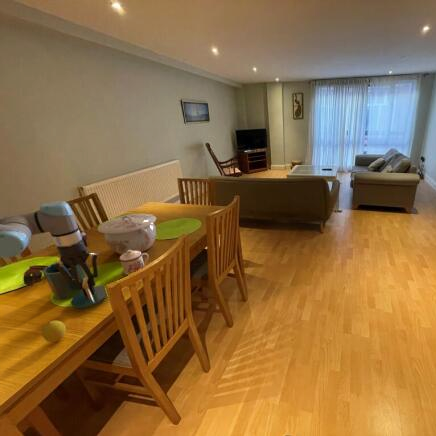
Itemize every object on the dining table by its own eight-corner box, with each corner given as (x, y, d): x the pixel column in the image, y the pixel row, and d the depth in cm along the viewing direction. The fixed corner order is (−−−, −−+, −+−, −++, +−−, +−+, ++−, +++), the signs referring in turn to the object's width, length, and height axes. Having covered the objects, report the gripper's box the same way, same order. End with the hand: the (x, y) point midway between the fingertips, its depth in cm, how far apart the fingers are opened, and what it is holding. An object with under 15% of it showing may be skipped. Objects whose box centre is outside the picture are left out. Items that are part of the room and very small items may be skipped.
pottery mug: (21, 282, 111) (26, 264, 112) (49, 282, 118) (54, 265, 119) (21, 287, 103) (26, 268, 104) (51, 286, 110) (56, 268, 111)
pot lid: (69, 313, 90) (60, 296, 87) (74, 294, 100) (66, 278, 97) (110, 300, 97) (104, 283, 94) (111, 284, 107) (105, 268, 104)
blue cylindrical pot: (52, 303, 98) (39, 277, 93) (57, 287, 106) (46, 263, 102) (88, 292, 103) (78, 268, 99) (90, 279, 112) (81, 255, 108)
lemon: (63, 331, 84) (55, 313, 81) (73, 336, 82) (64, 318, 79) (43, 343, 80) (33, 325, 77) (53, 349, 78) (43, 331, 75)
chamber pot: (116, 241, 147) (106, 210, 139) (165, 235, 155) (158, 205, 147) (98, 266, 122) (84, 229, 114) (157, 257, 130) (148, 222, 122)
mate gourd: (92, 242, 146) (84, 220, 140) (80, 249, 139) (71, 225, 133) (81, 242, 147) (72, 219, 141) (69, 248, 139) (59, 225, 134)
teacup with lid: (129, 278, 112) (122, 257, 108) (120, 272, 117) (114, 251, 113) (155, 267, 121) (149, 246, 117) (146, 261, 126) (140, 242, 122)
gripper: (95, 234, 95) (112, 282, 104) (45, 244, 88) (68, 295, 97) (93, 241, 90) (111, 292, 99) (40, 252, 82) (65, 306, 91)
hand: (90, 293), depth 98 cm, fingers closed on pot lid, 1 cm apart
